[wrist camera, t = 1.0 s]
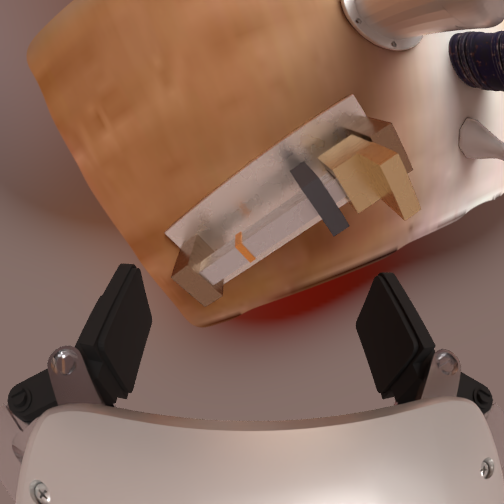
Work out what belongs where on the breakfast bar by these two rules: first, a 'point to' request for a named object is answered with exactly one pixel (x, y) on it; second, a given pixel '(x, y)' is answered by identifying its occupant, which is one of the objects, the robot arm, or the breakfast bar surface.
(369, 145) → the wooden block
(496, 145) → the flask
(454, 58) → the storage jar
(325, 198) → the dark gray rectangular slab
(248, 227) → the pipe rig
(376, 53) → the breakfast bar surface
